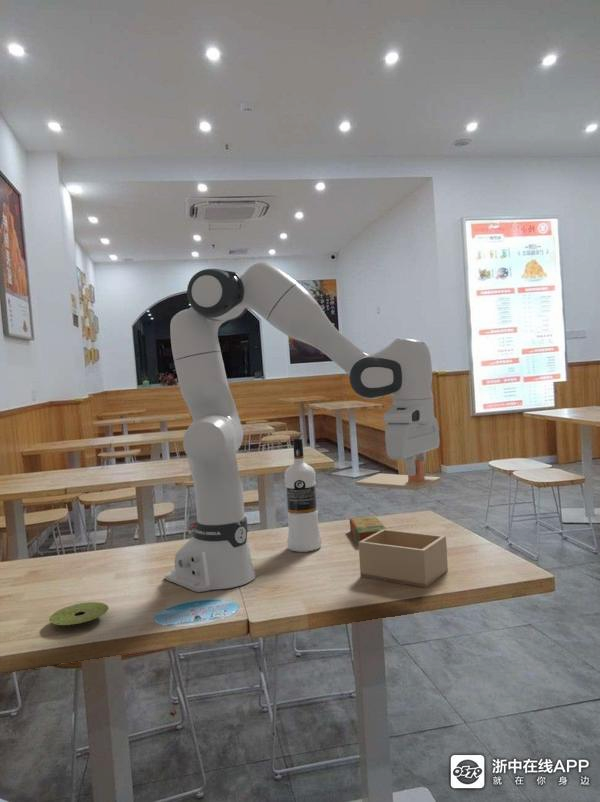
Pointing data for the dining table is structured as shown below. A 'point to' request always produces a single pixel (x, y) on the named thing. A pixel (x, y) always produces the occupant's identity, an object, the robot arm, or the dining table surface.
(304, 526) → the vodka
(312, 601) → the dining table surface
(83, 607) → the green disc
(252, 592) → the dining table surface
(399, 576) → the brown carton
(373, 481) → the box lid
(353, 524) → the carton
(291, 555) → the dining table surface
